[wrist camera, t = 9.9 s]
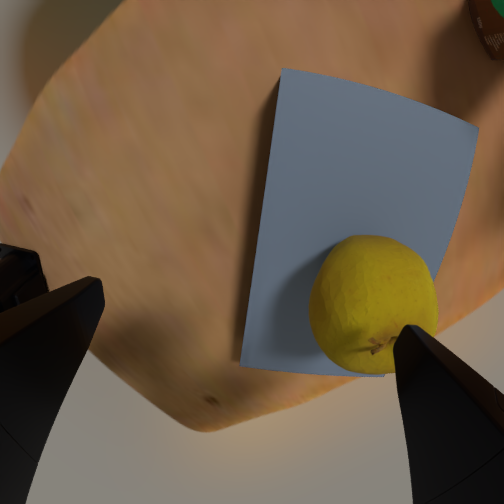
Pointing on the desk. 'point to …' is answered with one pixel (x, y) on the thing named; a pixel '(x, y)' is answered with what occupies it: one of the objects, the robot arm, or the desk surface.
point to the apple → (370, 302)
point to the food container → (489, 25)
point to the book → (345, 200)
